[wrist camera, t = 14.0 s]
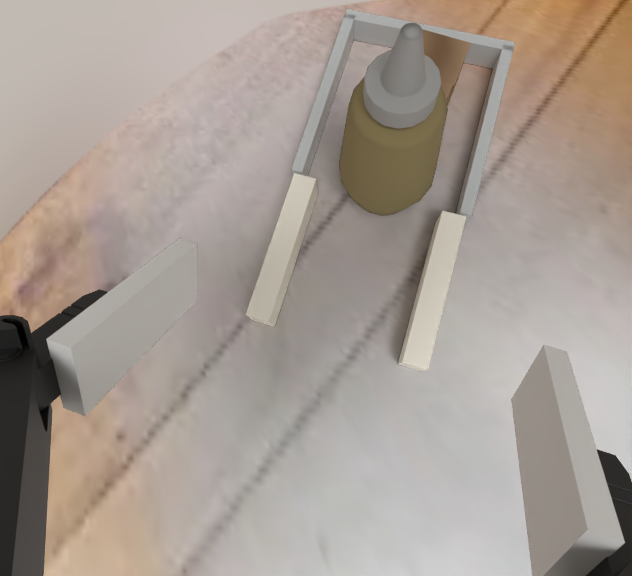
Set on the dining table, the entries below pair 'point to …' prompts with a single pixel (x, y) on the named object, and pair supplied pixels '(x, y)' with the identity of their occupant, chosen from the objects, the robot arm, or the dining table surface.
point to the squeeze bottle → (394, 128)
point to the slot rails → (429, 291)
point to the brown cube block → (446, 55)
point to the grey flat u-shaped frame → (385, 34)
